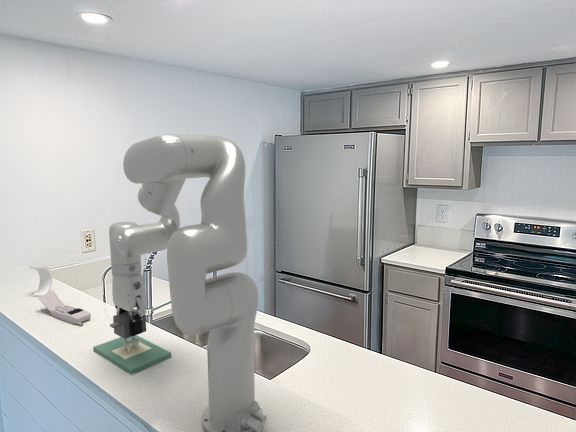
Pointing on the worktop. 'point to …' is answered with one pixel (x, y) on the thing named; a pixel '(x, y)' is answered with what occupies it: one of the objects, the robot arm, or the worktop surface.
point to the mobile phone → (63, 309)
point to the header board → (132, 353)
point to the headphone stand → (43, 281)
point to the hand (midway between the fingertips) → (130, 330)
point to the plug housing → (125, 324)
